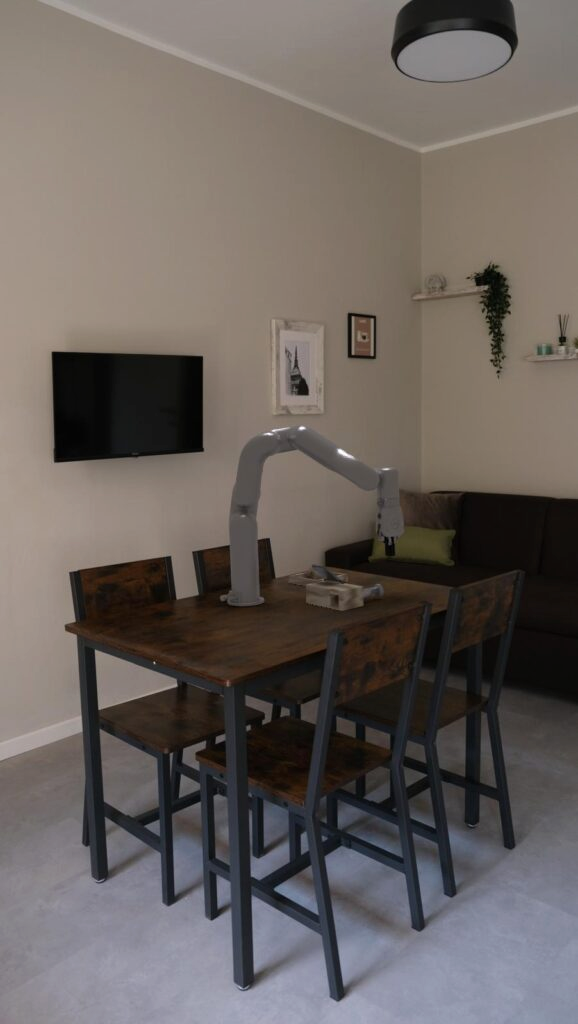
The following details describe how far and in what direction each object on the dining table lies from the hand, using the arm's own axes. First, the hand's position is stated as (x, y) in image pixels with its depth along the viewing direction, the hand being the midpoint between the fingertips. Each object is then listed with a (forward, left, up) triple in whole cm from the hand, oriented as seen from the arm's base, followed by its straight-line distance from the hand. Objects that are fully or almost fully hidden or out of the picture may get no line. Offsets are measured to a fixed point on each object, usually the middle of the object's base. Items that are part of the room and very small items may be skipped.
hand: (390, 555), depth 288 cm
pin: (-13, 0, -13) cm, 19 cm away
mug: (+1, +36, -15) cm, 39 cm away
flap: (-22, +9, -5) cm, 24 cm away
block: (-22, +5, -14) cm, 27 cm away
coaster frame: (0, +36, -14) cm, 39 cm away
